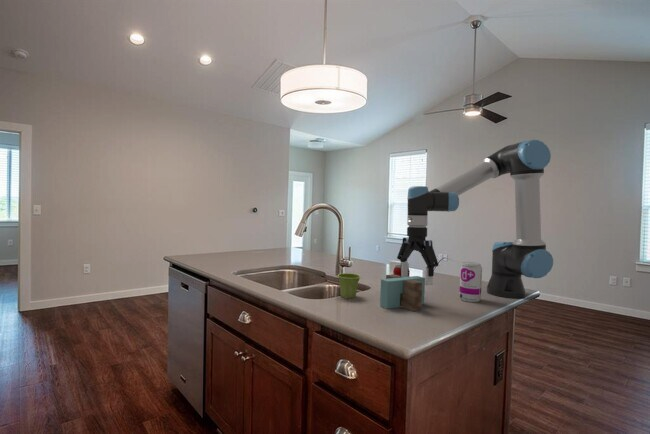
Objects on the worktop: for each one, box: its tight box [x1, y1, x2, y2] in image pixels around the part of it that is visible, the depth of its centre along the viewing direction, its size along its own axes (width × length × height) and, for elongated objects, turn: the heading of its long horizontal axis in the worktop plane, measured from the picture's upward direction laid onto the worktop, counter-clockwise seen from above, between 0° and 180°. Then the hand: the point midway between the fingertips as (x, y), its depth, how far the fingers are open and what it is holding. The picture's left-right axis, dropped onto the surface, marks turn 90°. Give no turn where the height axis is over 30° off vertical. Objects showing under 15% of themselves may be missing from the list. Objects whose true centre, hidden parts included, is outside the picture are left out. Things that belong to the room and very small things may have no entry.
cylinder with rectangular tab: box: [388, 260, 410, 275], centre depth 159 cm, size 9×9×12 cm
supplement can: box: [458, 261, 483, 303], centre depth 141 cm, size 8×8×15 cm
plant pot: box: [337, 272, 362, 299], centre depth 141 cm, size 9×9×9 cm
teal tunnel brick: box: [379, 275, 426, 310], centre depth 131 cm, size 18×4×10 cm, turn 118°
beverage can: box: [393, 265, 411, 277], centre depth 147 cm, size 7×7×12 cm
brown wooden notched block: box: [385, 274, 423, 312], centre depth 131 cm, size 4×16×10 cm, turn 28°
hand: (416, 281), depth 134 cm, fingers open, 13 cm apart
